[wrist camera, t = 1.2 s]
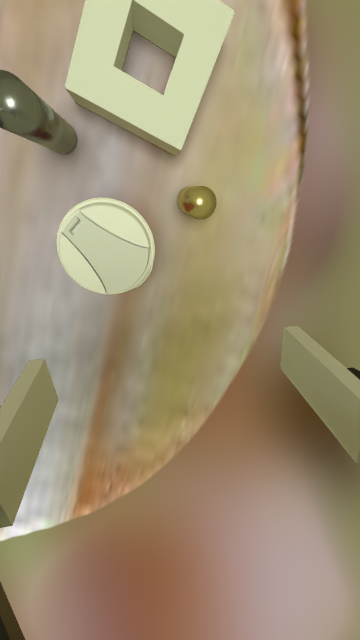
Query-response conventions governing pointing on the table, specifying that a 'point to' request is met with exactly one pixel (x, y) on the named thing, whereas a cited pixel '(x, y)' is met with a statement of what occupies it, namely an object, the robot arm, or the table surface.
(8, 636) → the robot arm
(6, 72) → the long pin
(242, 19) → the table surface
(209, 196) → the short pin
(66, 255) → the paper cup
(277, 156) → the table surface
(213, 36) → the hole block
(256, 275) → the table surface
